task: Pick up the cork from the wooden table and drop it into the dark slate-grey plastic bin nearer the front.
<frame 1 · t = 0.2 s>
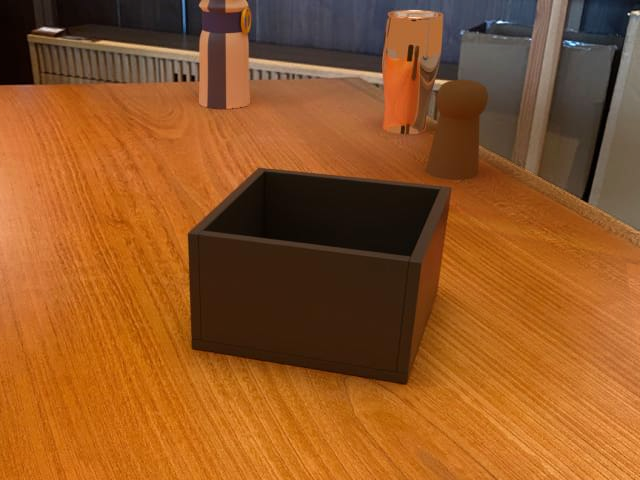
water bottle: (225, 103, 126), on the table
cork: (449, 188, 92), on the table
bin: (322, 318, 65), on the table
beer glass: (402, 142, 108), on the table
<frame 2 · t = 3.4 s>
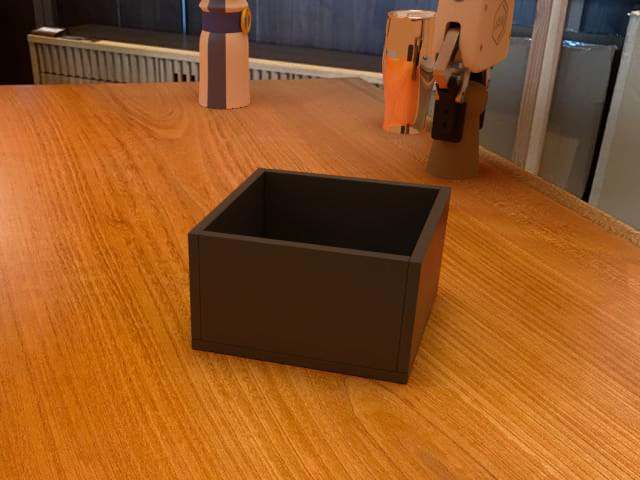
hand: (457, 132, 89), 6 cm above the table, tool pointing down, fingers closed on cork, 5 cm apart
cork: (449, 188, 92), on the table, touching gripper
everything else where it was.
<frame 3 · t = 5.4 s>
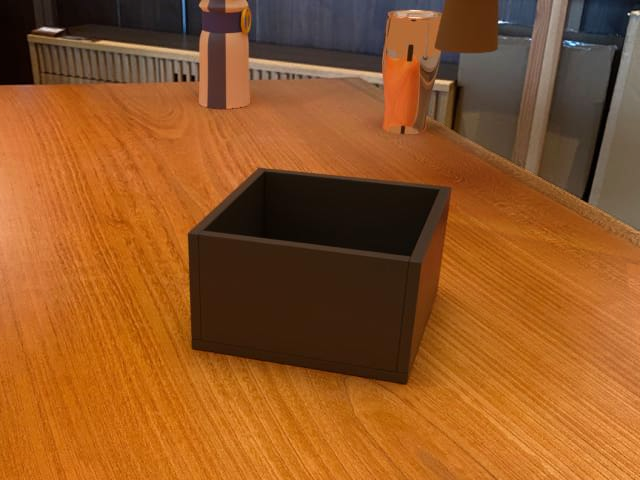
cork: (465, 50, 82), point 14 cm above the table, touching gripper
everything else where it was.
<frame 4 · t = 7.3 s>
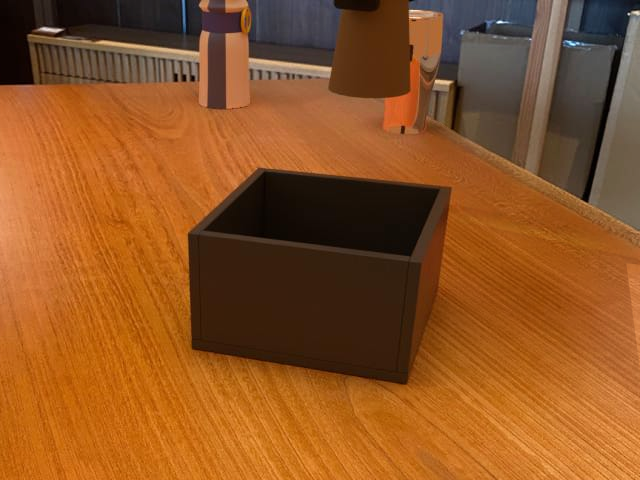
hand: (376, 1, 59), 22 cm above the table, tool pointing down, fingers closed on cork, 5 cm apart
cork: (368, 91, 62), point 16 cm above the table, touching gripper
everything else where it was.
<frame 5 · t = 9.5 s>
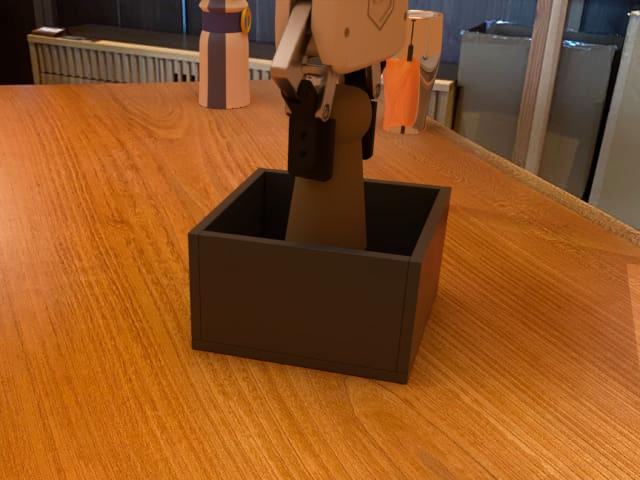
hand: (331, 163, 58), 12 cm above the table, tool pointing down, fingers closed on cork, 5 cm apart
cork: (325, 245, 62), point 6 cm above the table, touching gripper
everything else where it was.
when the fingers open (7 cm above the table, at t = 11.3 s): cork stays where it is, resting on bin.
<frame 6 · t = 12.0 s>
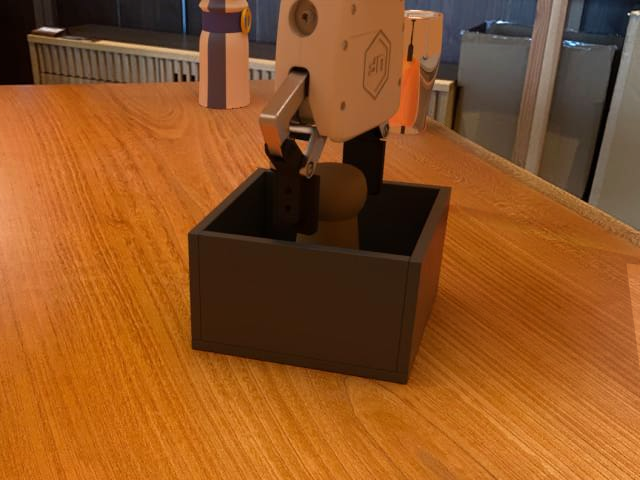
hand: (329, 210, 60), 9 cm above the table, tool pointing down, fingers open, 9 cm apart
cork: (323, 310, 65), point 1 cm above the table, touching bin
everything else where it was.
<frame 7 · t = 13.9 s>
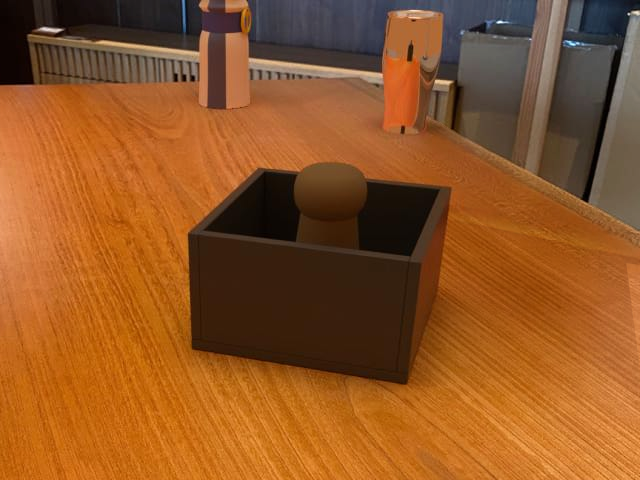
nothing on the table moved.
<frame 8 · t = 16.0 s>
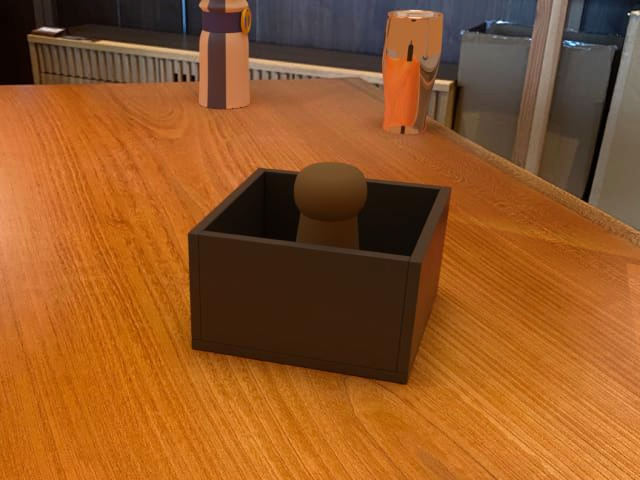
nothing on the table moved.
at the end: cork inside the target area in the bin (0.1 cm from its centre), point 0.6 cm above the bin's base; the gripper is holding nothing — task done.
